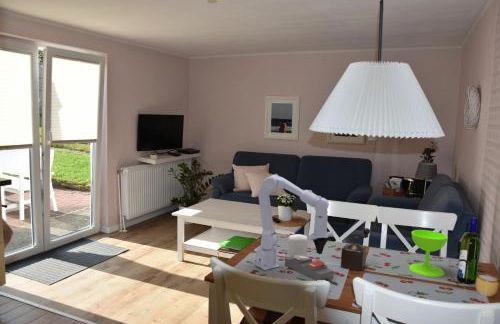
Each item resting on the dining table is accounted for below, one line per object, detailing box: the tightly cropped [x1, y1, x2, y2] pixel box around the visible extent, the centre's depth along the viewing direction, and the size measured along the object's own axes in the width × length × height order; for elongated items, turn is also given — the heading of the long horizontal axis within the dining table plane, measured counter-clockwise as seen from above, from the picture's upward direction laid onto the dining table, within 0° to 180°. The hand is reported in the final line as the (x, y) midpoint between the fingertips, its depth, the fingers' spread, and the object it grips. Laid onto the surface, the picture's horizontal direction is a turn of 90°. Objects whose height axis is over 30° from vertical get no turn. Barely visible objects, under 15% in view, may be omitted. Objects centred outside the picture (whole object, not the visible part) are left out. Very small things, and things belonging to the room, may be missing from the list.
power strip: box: [284, 255, 339, 286], centre depth 186 cm, size 8×30×4 cm, turn 35°
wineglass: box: [408, 229, 448, 278], centre depth 195 cm, size 16×16×18 cm
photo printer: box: [286, 233, 309, 258], centre depth 207 cm, size 10×4×12 cm, turn 98°
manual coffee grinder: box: [340, 227, 371, 272], centre depth 199 cm, size 16×11×18 cm
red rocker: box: [308, 259, 325, 268], centre depth 184 cm, size 6×4×1 cm, turn 125°
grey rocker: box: [294, 255, 310, 261], centre depth 192 cm, size 6×4×1 cm, turn 125°
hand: (319, 253), depth 186 cm, fingers closed
